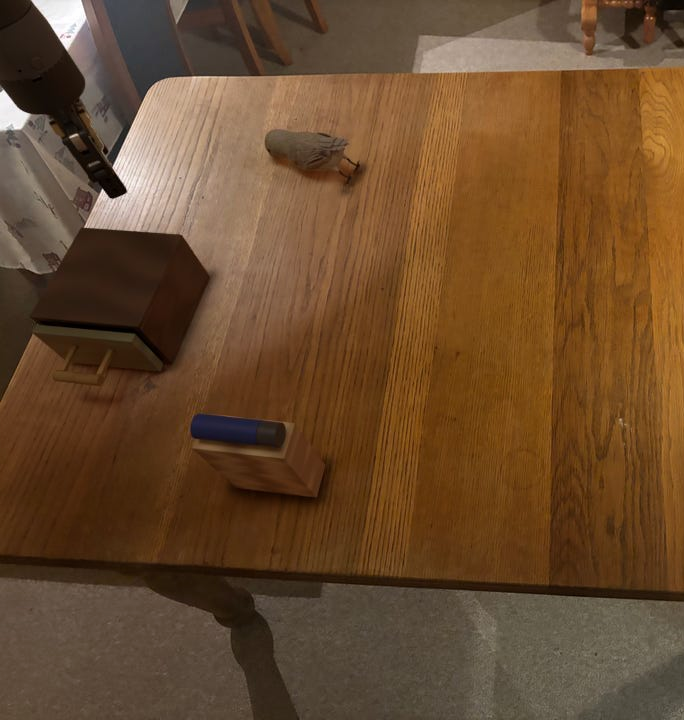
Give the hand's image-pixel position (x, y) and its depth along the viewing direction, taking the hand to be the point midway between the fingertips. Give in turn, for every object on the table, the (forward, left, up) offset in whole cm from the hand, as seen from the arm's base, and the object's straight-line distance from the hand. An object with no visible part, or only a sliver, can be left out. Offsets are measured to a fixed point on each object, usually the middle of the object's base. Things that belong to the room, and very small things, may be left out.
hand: (109, 174), depth 82 cm
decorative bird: (+25, +5, -17) cm, 31 cm away
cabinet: (-7, -7, -17) cm, 20 cm away
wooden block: (0, -40, -17) cm, 43 cm away
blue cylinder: (0, -40, -5) cm, 40 cm away
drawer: (-10, -10, -16) cm, 21 cm away
